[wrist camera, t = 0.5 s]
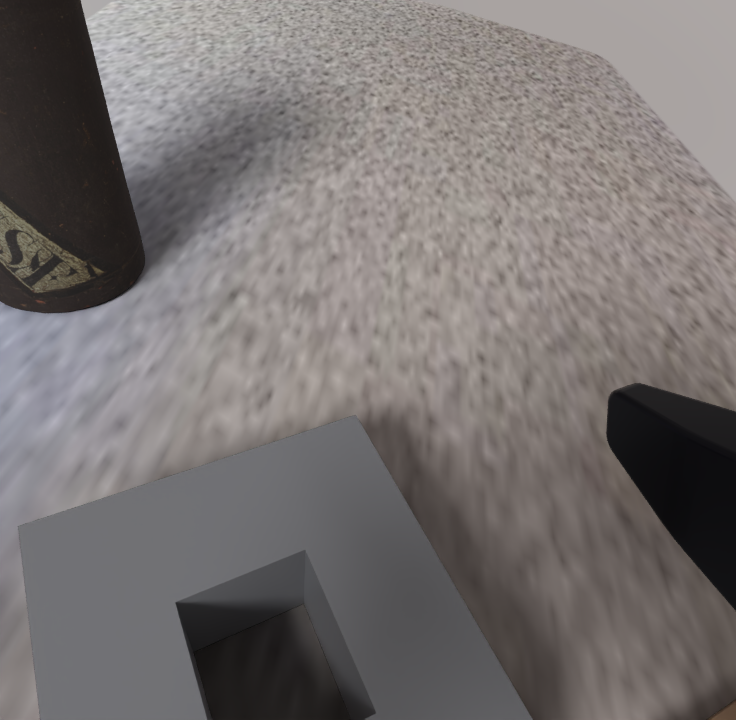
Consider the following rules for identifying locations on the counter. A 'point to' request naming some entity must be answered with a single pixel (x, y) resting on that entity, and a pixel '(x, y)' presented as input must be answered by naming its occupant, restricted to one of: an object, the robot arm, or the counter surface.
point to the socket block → (254, 588)
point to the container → (59, 167)
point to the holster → (726, 713)
